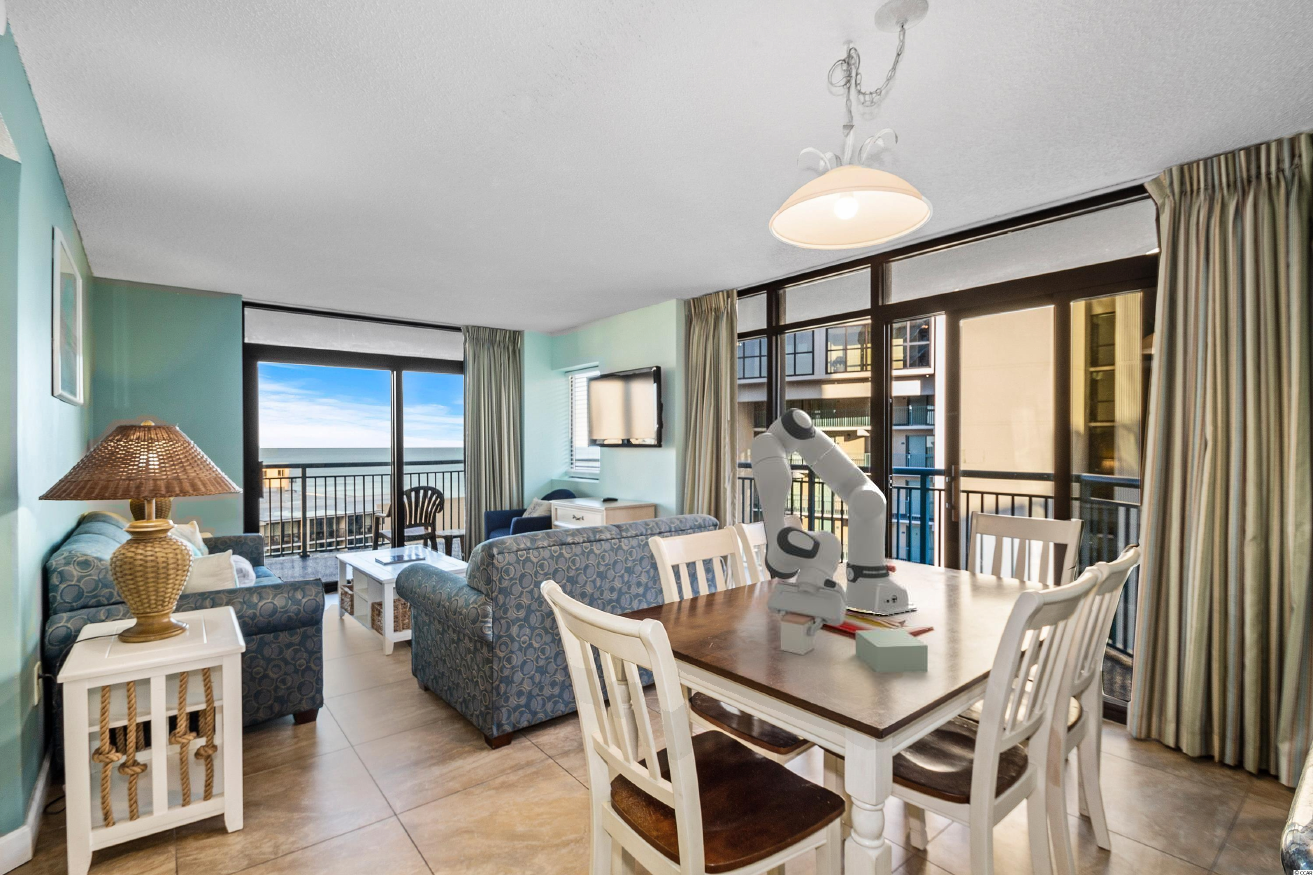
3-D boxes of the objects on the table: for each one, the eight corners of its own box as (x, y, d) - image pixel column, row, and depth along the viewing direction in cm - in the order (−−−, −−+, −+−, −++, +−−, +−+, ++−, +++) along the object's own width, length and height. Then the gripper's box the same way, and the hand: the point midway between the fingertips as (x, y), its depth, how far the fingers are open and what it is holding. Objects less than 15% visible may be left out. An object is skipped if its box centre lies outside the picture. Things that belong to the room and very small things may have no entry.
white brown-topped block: (791, 643, 161) (791, 612, 161) (813, 648, 157) (813, 616, 157) (780, 649, 156) (780, 617, 156) (803, 654, 152) (803, 622, 152)
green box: (901, 653, 154) (902, 629, 154) (927, 671, 142) (927, 645, 142) (855, 654, 153) (855, 630, 153) (877, 673, 141) (877, 646, 141)
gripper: (773, 573, 168) (755, 617, 161) (846, 584, 156) (830, 633, 148) (780, 586, 172) (763, 630, 164) (853, 599, 159) (838, 647, 151)
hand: (796, 632), depth 156 cm, fingers closed on white brown-topped block, 6 cm apart
